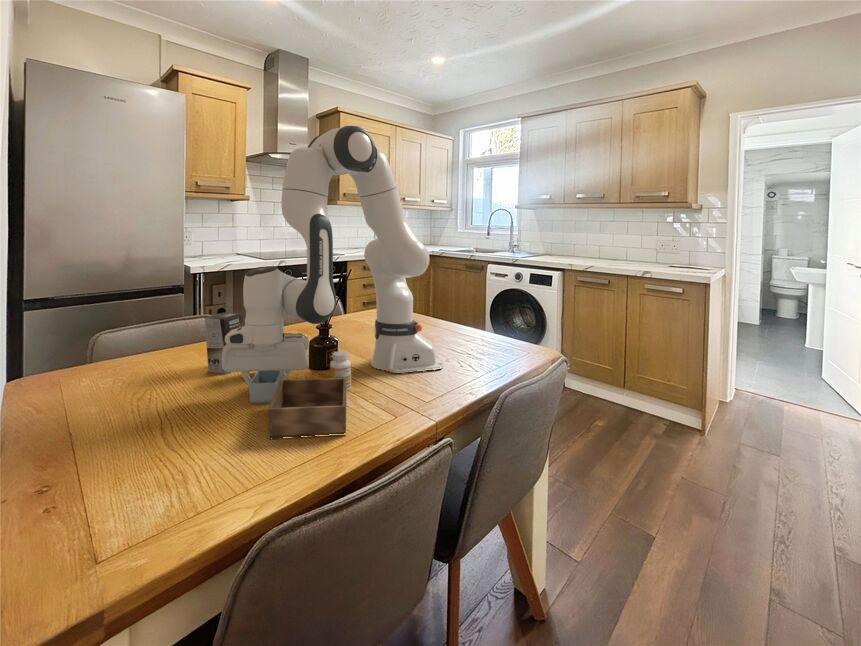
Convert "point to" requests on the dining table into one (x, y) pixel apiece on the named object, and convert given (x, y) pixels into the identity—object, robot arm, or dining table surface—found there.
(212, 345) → the coffee box
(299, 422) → the large crate
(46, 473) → the dining table surface
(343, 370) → the supplement bottle
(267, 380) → the small crate
